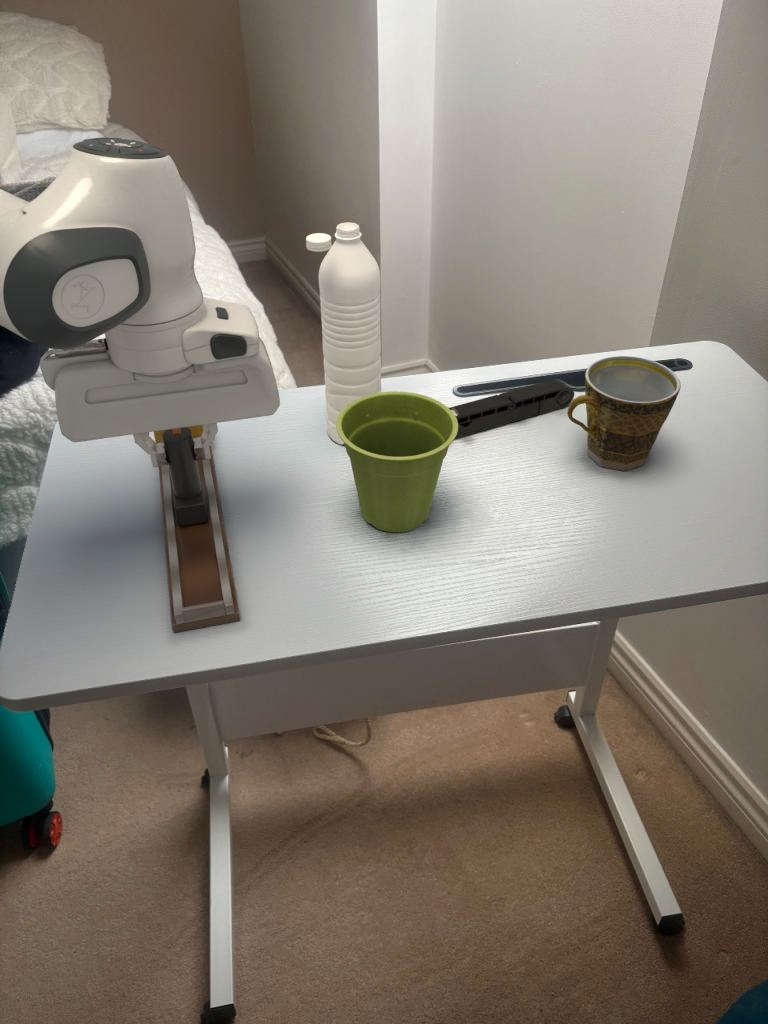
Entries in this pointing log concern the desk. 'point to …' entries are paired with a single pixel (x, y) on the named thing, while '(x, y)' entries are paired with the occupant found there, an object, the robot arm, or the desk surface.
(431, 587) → the desk surface
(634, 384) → the ceramic cup
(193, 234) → the robot arm
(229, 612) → the rail
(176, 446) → the nozzle
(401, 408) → the plant pot
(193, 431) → the block
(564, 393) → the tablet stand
